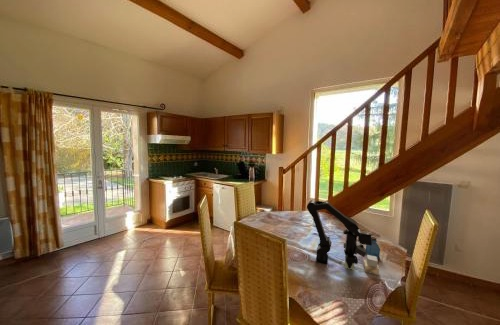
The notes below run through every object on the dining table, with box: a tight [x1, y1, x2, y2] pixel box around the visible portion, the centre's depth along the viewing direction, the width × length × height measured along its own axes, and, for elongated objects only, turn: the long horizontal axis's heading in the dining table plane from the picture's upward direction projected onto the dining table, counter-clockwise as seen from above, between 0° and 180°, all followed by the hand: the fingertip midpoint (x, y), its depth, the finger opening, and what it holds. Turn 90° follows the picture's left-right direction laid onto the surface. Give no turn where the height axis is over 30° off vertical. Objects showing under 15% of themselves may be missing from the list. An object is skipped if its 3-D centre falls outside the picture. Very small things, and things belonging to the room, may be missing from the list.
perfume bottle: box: [365, 236, 381, 259], centre depth 142 cm, size 6×6×12 cm
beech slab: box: [362, 259, 380, 275], centre depth 127 cm, size 7×7×4 cm
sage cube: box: [344, 259, 355, 271], centre depth 129 cm, size 4×4×4 cm
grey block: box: [366, 254, 379, 267], centre depth 126 cm, size 5×5×4 cm
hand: (349, 265), depth 129 cm, fingers closed on sage cube, 4 cm apart
